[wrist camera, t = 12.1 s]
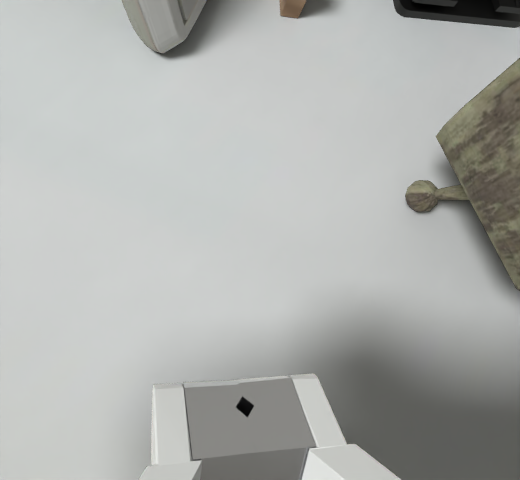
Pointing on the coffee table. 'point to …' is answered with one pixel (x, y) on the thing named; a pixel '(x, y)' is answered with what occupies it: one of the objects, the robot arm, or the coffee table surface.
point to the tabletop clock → (485, 165)
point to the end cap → (463, 11)
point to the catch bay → (291, 7)
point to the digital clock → (163, 21)
